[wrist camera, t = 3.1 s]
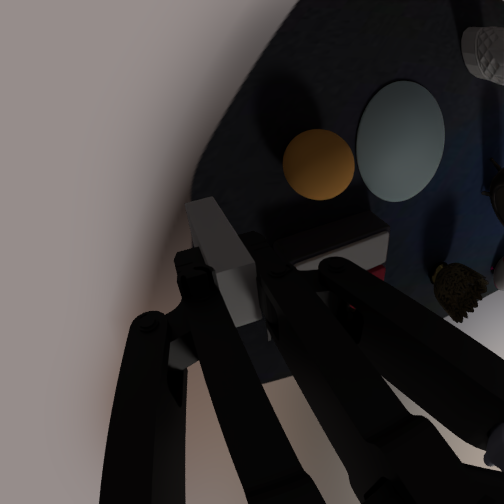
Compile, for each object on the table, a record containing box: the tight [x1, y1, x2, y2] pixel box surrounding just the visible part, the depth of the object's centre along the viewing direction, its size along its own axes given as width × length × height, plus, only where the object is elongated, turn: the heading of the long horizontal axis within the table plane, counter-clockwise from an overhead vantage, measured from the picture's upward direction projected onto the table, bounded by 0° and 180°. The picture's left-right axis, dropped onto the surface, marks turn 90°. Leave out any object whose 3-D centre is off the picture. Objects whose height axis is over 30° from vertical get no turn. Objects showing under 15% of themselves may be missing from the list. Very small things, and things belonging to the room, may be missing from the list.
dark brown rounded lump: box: [429, 262, 489, 323], centre depth 37 cm, size 8×7×8 cm
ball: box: [283, 129, 354, 200], centre depth 23 cm, size 6×6×6 cm
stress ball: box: [490, 257, 504, 290], centre depth 48 cm, size 8×8×7 cm
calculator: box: [273, 210, 390, 309], centre depth 33 cm, size 11×4×15 cm
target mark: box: [356, 81, 445, 202], centre depth 28 cm, size 13×13×1 cm
